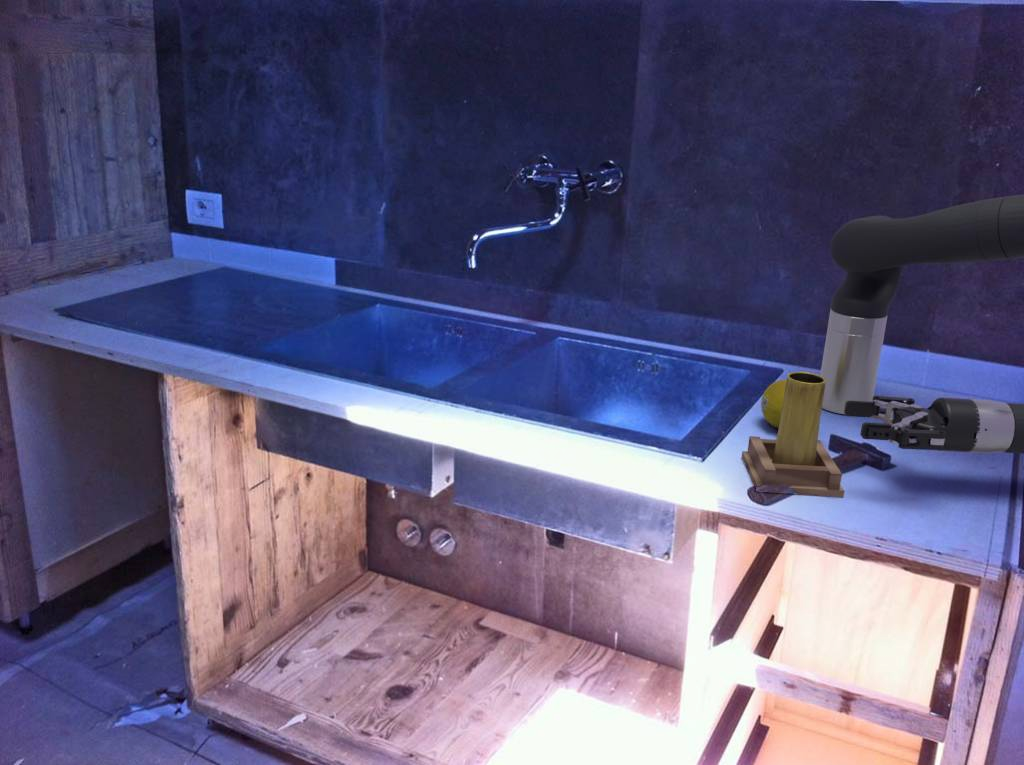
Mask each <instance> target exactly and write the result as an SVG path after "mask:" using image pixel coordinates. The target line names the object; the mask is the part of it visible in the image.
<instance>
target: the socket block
mask: <svg viewBox="0 0 1024 765" xmlns="http://www.w3.org/2000/svg"><path fill="white" fill-rule="evenodd" d="M775 445H776V439H775V438H774V439H771V438H761V437H760V436H751V435H749V436H748V445H747V451H745V450H743V451H742V452H741V459H742V461H743V464H744V466H745V468H746V470H747V473H748V475H749V477H750V481H751V482H752V486H753V487H754V486H760V485H774V484H786V485H787V484H788V485H792V486H790V487H789V488H791V489H793V490H794V491H795V493H796V494H798V496H814V497H815V496H816V497H829V498H830V497H832V498H833V497H834V498H835V497H836V498H844V496H845V489H844V487H843V485H842V484H841V482H842V476H843V473H842V471H841V470H840V468H839V467H838V466H837V465H836V462H835V461H834V459H833V458H832V457H831V455H830V453H829V451H828V450H827V449H826V447H825V445H824V444H823V442H822V441H821V440H820V439H818V441H817V450H816V458H815V466H805V465H788V464H773V463H772V459H773V455H774V450H775Z"/></svg>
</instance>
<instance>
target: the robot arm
mask: <svg viewBox="0 0 1024 765" xmlns="http://www.w3.org/2000/svg"><path fill="white" fill-rule="evenodd" d="M829 252H830V255H831V256H830V257H831V258H832V260H833V262H834V264H836V266H837V267H838V268H840V269H841V270H843V271H844V272H846V275H845V277H844V280H843V281H842V283H841V284H840V286H838V287H837V289H836V290H835V291H834V293H833V295H832V297H831V303H830V311H829V317H828V322H827V323H828V324H827V330H826V336H825V342H824V343H825V344H824V349H823V356H822V362H821V368H820V374H819V375H820V376H822V377H824V378H825V379H826V383H825V390H824V396H823V403H822V409H823V410H826V411H828V412H831V413H835V414H840V415H845V416H847V417H854V418H855V417H857V418H872V419H876V420H879V421H883V422H869V421H868V422H866V421H865V422H863V423H861V427H860V428H861V429H860V437H861V438H862V439H864V440H874V441H875V440H877V441H878V440H880V441H889V443H891V444H893V445H894V444H898V448H899V449H902V450H917V451H919V450H920V451H921V450H923V451H924V450H925V451H941V452H959V453H975V454H995V453H996V454H997V453H1004V454H1005V453H1006V454H1022V455H1023V454H1024V403H1017V402H1016V403H1014V402H1012V403H1011V402H1001V401H995V400H991V399H990V400H989V399H976V398H974V399H972V398H959V397H958V398H956V397H955V398H954V397H938V398H936V399H935V400H934V401H933V402H931V403H932V404H931V405H930V406H929V407H927V408H925V407H922V406H921V405H918V404H915V402H916V401H915V399H914V398H911V397H899V396H897V397H896V396H884V395H883V396H882V395H875V389H876V384H877V378H878V373H879V367H880V363H881V362H880V361H881V357H882V356H881V355H882V349H883V345H884V338H885V332H886V326H887V321H888V314H889V310H890V307H891V304H892V302H893V301H894V299H895V297H896V294H897V292H898V287H899V285H900V280H901V273H902V270H903V267H904V266H909V265H918V264H968V263H970V264H971V263H982V262H984V263H985V262H987V263H989V262H997V261H1006V260H1008V261H1009V260H1016V259H1022V258H1024V194H1016V195H1008V196H1000V197H994V198H988V199H986V198H985V199H981V200H976V201H972V202H967V203H963V204H962V203H961V204H958V205H954V206H950V207H945V208H941V209H939V210H934V211H932V212H931V211H930V212H928V213H925V214H920V215H916V216H910V217H902V218H892V217H889V216H887V215H872V216H865V217H859V218H855V219H852V220H851V221H847V222H846V223H845V224H843V225H842V226H840V228H839V229H837V230H836V232H835V233H834V234H833V237H832V238H831V242H830V245H829Z"/></svg>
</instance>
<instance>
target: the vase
mask: <svg viewBox="0 0 1024 765" xmlns="http://www.w3.org/2000/svg"><path fill="white" fill-rule="evenodd" d="M786 380H787V381H786V387H785V394H784V400H783V406H782V412H781V417H780V423H779V428H777V429H778V430H777V431H778V432H777V435H776V439H775V440H776V445H775V450H774V455H773V459H772V463H773V464H788V465H805V466H815V458H816V450H817V441H818V440H819V433H820V432H819V431H820V423H821V416H822V409H823V408H822V403H823V396H824V390H825V383H826V379H825V378H824V377H822V376H820V374H817V373H814V372H809V371H800V370H799V371H792V372H790V373H788V374H787V377H786Z"/></svg>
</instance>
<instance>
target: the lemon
mask: <svg viewBox="0 0 1024 765" xmlns="http://www.w3.org/2000/svg"><path fill="white" fill-rule="evenodd" d="M786 381H787V379H781V380H780V379H779V380H777V381H774V382H772V383H771V384H769V385H768V386H767V388H766V389H765V391H763V394H762V397H761V402H760V407H761V412H762V414H763V415H762V416H763V417H764V419H765V420H766V422H767V423H769V425H771V426H772V427H774V428H776V429H779V423H780V417H781V412H782V406H783V400H784V394H785V387H786Z"/></svg>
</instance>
